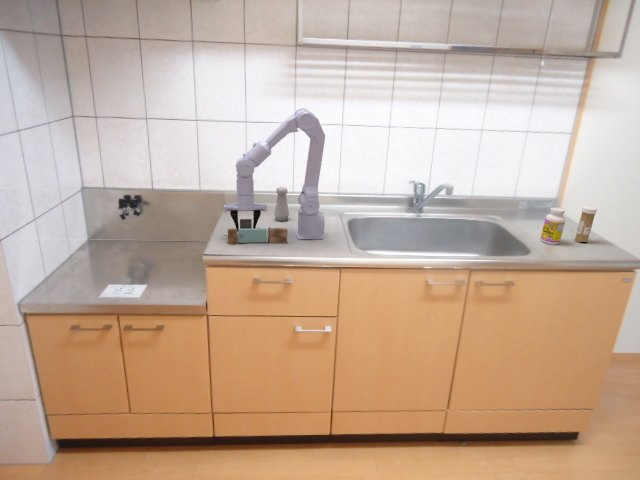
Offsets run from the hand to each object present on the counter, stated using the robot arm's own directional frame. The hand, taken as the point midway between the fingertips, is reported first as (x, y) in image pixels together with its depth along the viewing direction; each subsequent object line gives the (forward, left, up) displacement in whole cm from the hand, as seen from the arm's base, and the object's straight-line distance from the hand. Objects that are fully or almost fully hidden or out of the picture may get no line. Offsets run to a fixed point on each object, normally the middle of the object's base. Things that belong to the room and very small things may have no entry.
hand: (245, 230), depth 159 cm
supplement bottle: (-112, +10, -3) cm, 112 cm away
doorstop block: (0, 0, -2) cm, 3 cm away
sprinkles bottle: (-125, +10, -3) cm, 125 cm away
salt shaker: (-14, -18, -3) cm, 23 cm away
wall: (-4, +6, -2) cm, 7 cm away
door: (-2, +6, -2) cm, 7 cm away
